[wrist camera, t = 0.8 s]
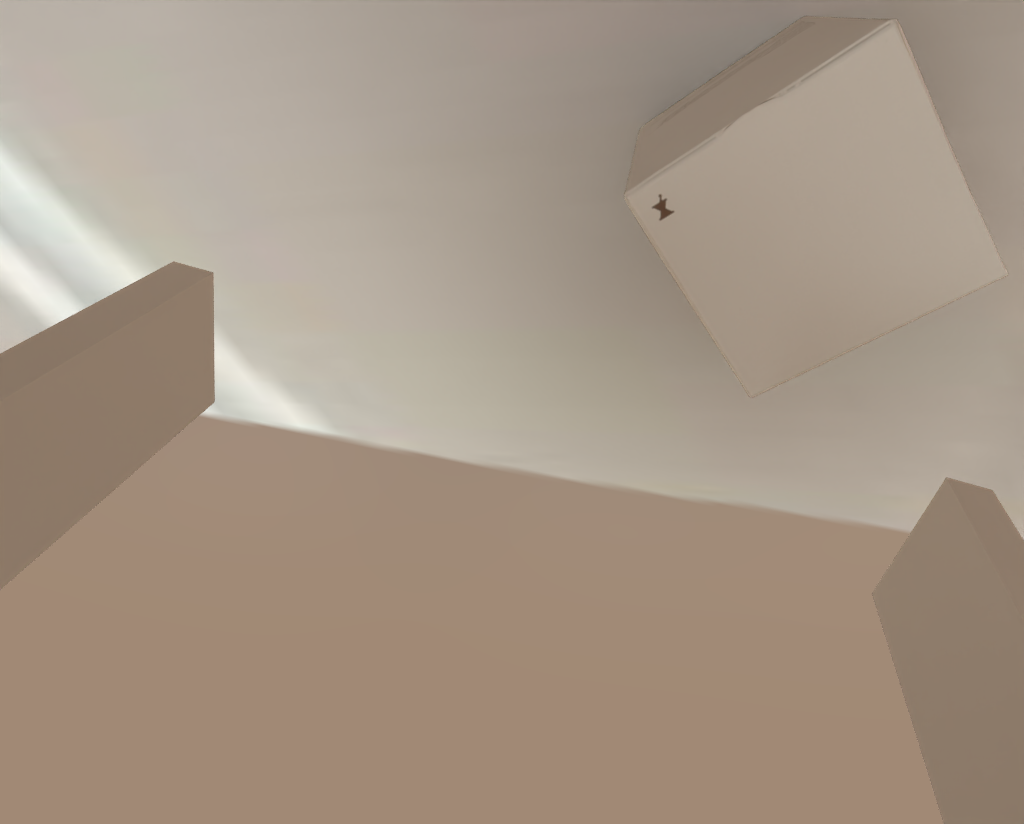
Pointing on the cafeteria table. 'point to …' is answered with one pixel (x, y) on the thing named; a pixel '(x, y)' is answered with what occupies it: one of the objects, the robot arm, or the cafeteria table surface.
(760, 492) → the cafeteria table surface
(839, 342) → the supplement box
